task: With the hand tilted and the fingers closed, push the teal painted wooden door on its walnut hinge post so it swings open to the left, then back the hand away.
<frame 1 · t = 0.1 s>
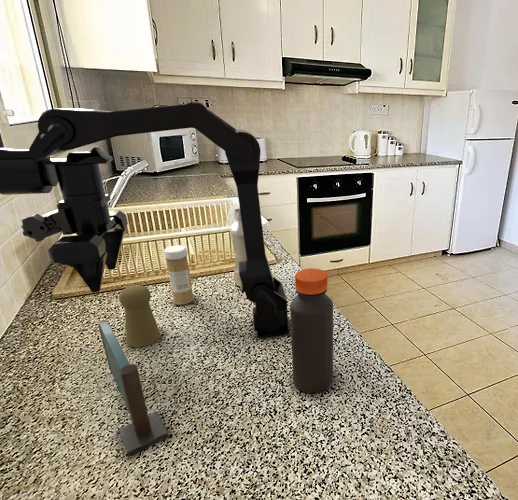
hand: (104, 279, 65), 15 cm above the countertop, tool pointing down, fingers open, 9 cm apart
door: (119, 368, 57), point 6 cm above the countertop, hinge at 0.0°
sprinkles bottle: (183, 301, 88), on the countertop
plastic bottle: (248, 285, 97), on the countertop
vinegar: (313, 381, 64), on the countertop
hinge post: (144, 435, 53), on the countertop
olive brown knobbed cone: (143, 338, 74), on the countertop
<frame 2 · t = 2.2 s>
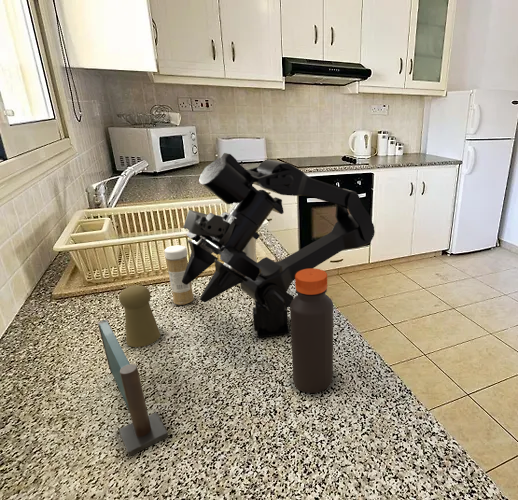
hand: (192, 291, 64), 14 cm above the countertop, tool tilted 45°, fingers open, 8 cm apart
nothing on the countertop moved.
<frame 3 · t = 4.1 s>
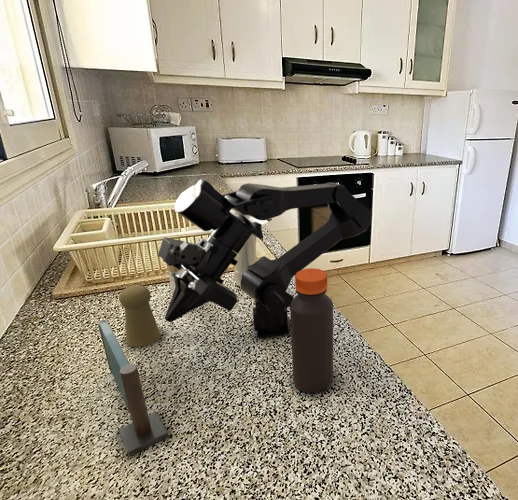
hand: (167, 320, 63), 10 cm above the countertop, tool tilted 45°, fingers closed
nothing on the countertop moved.
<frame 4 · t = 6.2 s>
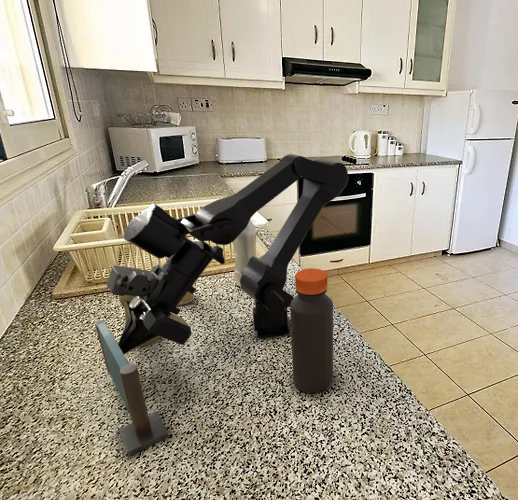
hand: (118, 353, 59), 7 cm above the countertop, tool tilted 45°, fingers closed, pressing on door
door: (118, 369, 57), point 6 cm above the countertop, hinge at 1.2°, touching gripper
everything else where it was.
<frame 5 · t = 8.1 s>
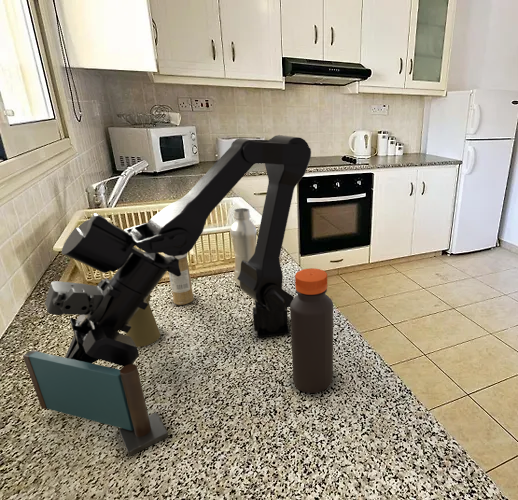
hand: (62, 375, 54), 6 cm above the countertop, tool tilted 45°, fingers closed
door: (81, 390, 53), point 6 cm above the countertop, hinge at 33.9°, touching gripper
everything else where it was.
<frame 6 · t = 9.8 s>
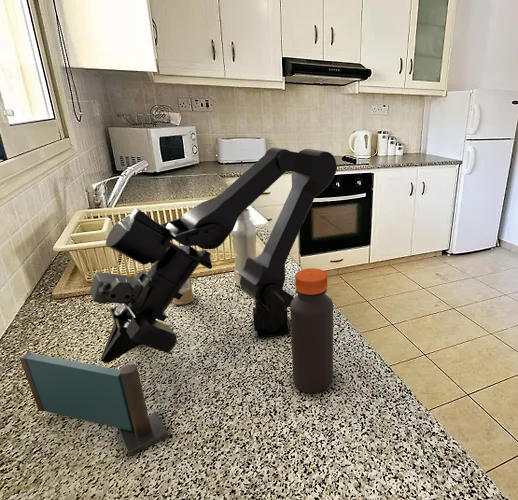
hand: (104, 361, 58), 6 cm above the countertop, tool tilted 45°, fingers closed
door: (79, 391, 52), point 6 cm above the countertop, hinge at 35.4°
everything else where it was.
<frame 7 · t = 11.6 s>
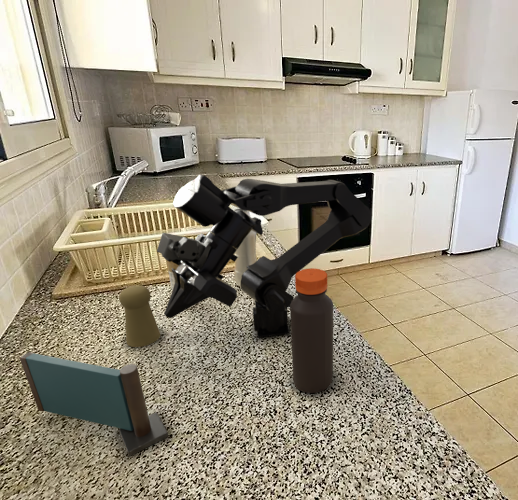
hand: (167, 316, 62), 10 cm above the countertop, tool tilted 45°, fingers closed
nothing on the countertop moved.
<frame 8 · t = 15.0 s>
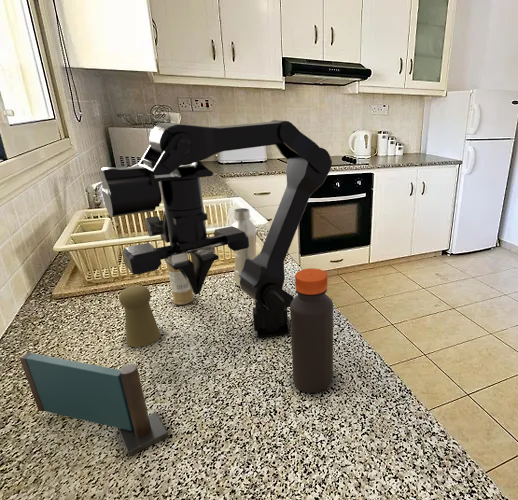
hand: (196, 293, 65), 13 cm above the countertop, tool pointing down, fingers closed
nothing on the countertop moved.
at the end: door at +35° (first picture: +0°); sprinkles bottle moved 0.2 cm from its start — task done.
